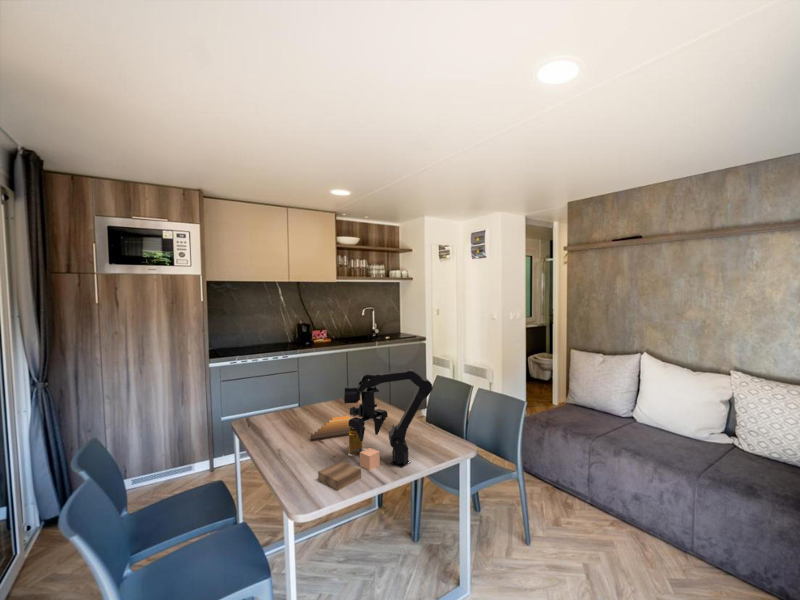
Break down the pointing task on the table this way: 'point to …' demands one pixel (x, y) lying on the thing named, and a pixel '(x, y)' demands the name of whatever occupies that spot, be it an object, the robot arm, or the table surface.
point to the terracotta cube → (369, 458)
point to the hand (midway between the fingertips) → (369, 437)
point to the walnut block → (339, 475)
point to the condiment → (354, 443)
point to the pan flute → (333, 429)
